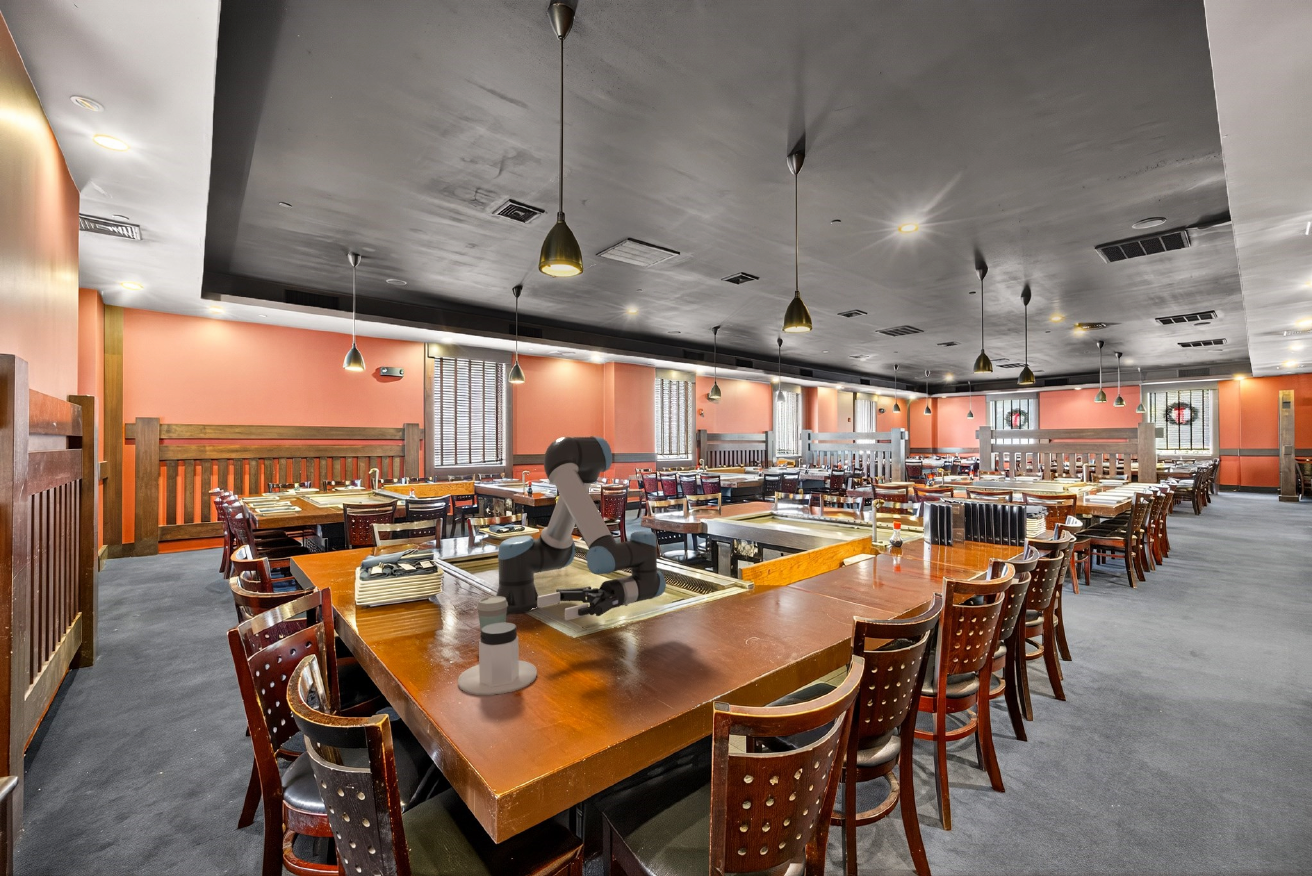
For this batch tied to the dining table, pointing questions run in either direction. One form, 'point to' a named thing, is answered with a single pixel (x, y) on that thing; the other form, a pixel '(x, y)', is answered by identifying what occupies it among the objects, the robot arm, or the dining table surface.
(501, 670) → the jar
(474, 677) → the saucer
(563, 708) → the dining table surface
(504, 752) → the dining table surface
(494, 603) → the coffee cup
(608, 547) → the robot arm
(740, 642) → the dining table surface
